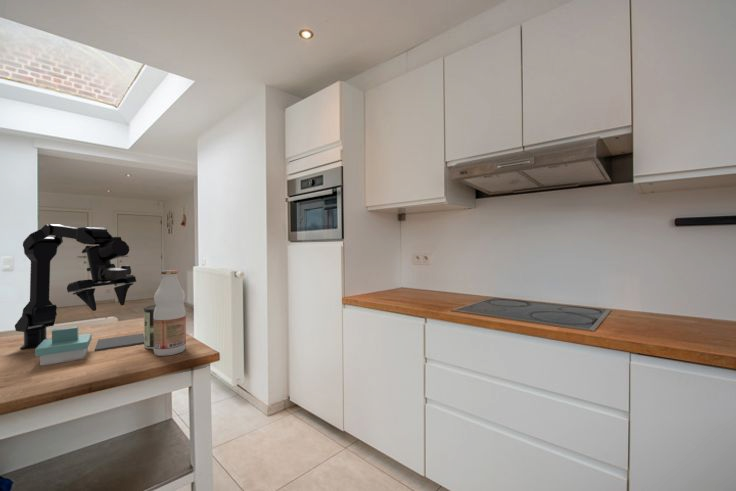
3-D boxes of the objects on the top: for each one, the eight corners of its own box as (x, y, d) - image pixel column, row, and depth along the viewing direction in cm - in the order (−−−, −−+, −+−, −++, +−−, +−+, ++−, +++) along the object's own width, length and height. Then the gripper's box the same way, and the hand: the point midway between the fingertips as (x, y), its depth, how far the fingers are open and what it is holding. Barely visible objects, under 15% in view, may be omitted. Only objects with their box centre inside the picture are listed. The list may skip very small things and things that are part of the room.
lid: (44, 346, 104) (44, 327, 104) (91, 339, 111) (91, 322, 111) (35, 356, 95) (35, 335, 95) (87, 348, 102) (87, 329, 102)
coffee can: (183, 341, 120) (183, 304, 120) (161, 350, 110) (160, 310, 110) (161, 339, 122) (160, 303, 122) (136, 348, 112) (136, 308, 112)
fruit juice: (147, 356, 104) (146, 271, 103) (164, 347, 113) (163, 269, 113) (176, 356, 104) (176, 271, 104) (191, 346, 113) (190, 269, 113)
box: (47, 356, 104) (47, 342, 104) (87, 350, 110) (87, 337, 110) (40, 365, 96) (40, 351, 96) (84, 358, 102) (84, 344, 102)
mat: (98, 341, 120) (98, 339, 120) (143, 334, 128) (143, 333, 128) (94, 351, 109) (94, 349, 109) (144, 343, 117) (144, 341, 117)
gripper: (87, 259, 97) (97, 308, 96) (143, 256, 115) (152, 298, 114) (61, 267, 99) (71, 315, 98) (120, 263, 117) (128, 304, 117)
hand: (109, 307), depth 107 cm, fingers open, 9 cm apart
